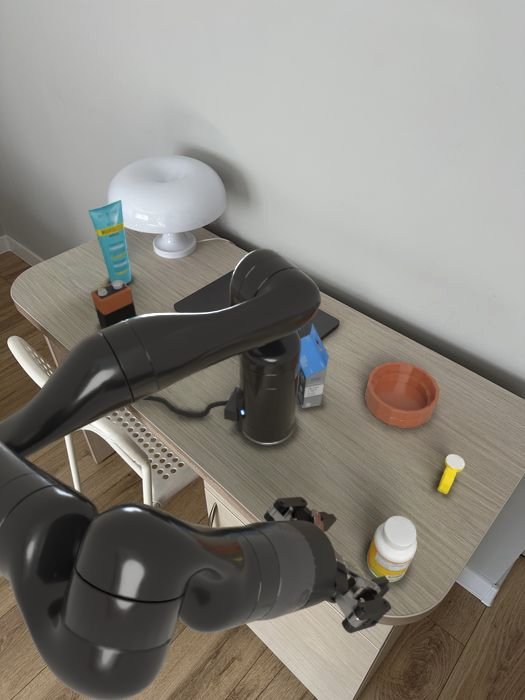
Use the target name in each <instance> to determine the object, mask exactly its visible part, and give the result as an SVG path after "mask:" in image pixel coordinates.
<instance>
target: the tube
mask: <svg viewBox="0 0 525 700" xmlns="http://www.w3.org/2000/svg"><path fill="white" fill-rule="evenodd" d="M87 213H88V215H89V217H90V219H91V223H92V225H93V228H94V231H95V233H96V236H97V240H98V243H99V247H100V250H101V252H102V257H103V260H104V263H105V267H106V270H107V274H108V277H109V280H110V284H111V283H113V282H114V281H118V280H121V281H122V282H123V283H125V284H126V285H127V284H129V283H130V282H131V281H132V272H131V271H132V270H131V266H130V260H129V252H128V245H127V238H126V230H125V221H124V214H123V213H124V212H123V203H122V199H118V200H115V201H112V202H110V203H107V204H105V205H102V206H98V207H94V208H91V209H88V210H87Z"/></svg>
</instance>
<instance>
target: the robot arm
mask: <svg viewBox="0 0 525 700" xmlns="http://www.w3.org/2000/svg"><path fill="white" fill-rule="evenodd" d="M231 275H232V276H231V279H230V282H229V307H226V308H223V309H220V310H215V311H208V312H156V313H145V314H139V315H136V316H135V317H132V318H129V319H127V320H124V321H121V322H119V323H117V324H114V325H112V326H109V327H107V328H104V329H103V328H102V329H99V330H97V331H95V332H93V333H90V334H88V335H86V336H85V337H83V338H82V339H80V340H79V341H78V342H77V343H76V344H75V345H74V346H73V347H72V348H71V349H70V351H69V352H67V354H66V355H65V356H64V358H63V359H62V360H61V361H60V363H59V364H58V365H57V366H56V368H55V369H54V371H53V372H52V374H51V375H50V376H49V378H48V379H47V380H46V382H45V383H44V384H43V386H42V387H40V389H39V390H38V391H37V393H35V395H34V396H33V397H32V398H31V399H29V401H28V402H27V403H26V404H25V405H24V406H22V407H20V409H18V410H16V411H15V412H13V413H12V414H10V415H8V416H7V417H5V418H4V419H2V420H0V575H1V576H2V577H3V578H4V579H6V580H7V581H8V583H9V584H10V587H11V590H12V595H13V597H14V600H15V603H16V605H17V608H18V609H19V612H20V613H21V617H22V619H23V621H24V624H25V626H26V628H27V630H28V633H29V636H30V638H31V641H32V642H33V645H34V647H35V649H36V651H37V653H38V654H39V656H40V658H41V659H42V661H43V663H44V664H45V665H46V667H47V668H48V670H49V671H50V673H51V674H53V676H54V677H55V678H56V679H57V680H58V681H60V682H61V683H62V684H63V685H64V686H65V687H67V688H68V689H69V690H71V691H72V692H74V693H76V694H78V695H80V696H83V697H85V698H87V699H91V700H127V699H131V698H133V697H137V696H138V695H139V694H141V693H143V692H144V691H145V690H147V689H148V688H149V687H150V686H151V685H152V684H153V683H154V682H155V680H157V678H158V677H159V674H160V673H161V671H162V670H163V667H164V665H165V662H166V660H167V657H168V654H169V651H170V648H171V645H172V642H173V639H174V634H175V631H176V628H177V624H178V621H179V620H180V621H181V622H182V624H183V625H185V626H186V627H187V628H189V629H190V630H192V631H194V632H197V633H200V634H215V633H220V632H225V631H228V630H231V629H234V628H238V627H241V626H244V625H247V624H250V623H254V622H258V621H260V622H261V621H270V620H274V619H275V620H276V619H278V618H280V617H283V616H286V615H290V614H293V613H295V612H299V611H302V610H305V609H308V608H311V607H314V606H317V605H319V604H322V603H323V602H328V603H330V604H336V605H337V606H338V607H339V609H340V610H341V612H342V613H343V615H344V619H343V620H342V621H341V625H342V627H343V629H344V630H345V632H346V633H349V634H353V633H356V632H360V631H363V630H366V629H369V628H372V627H375V626H376V625H377V624H378V623H379V621H380V620H381V619H382V618H383V617H384V616H385V615H386V614H387V613H389V612H390V610H392V606H391V604H390V602H389V601H388V599H386V598H384V596H385V595H386V594H387V593H388V592H389V591H390V586H389V585H388V584H389V583H390V582H389V580H388V579H387V578H386V577H385V576H381V577H378V578H377V577H375V578H372V579H369V578H368V577H366V576H365V575H364V572H363V570H362V569H361V568H360V567H358V566H356V565H355V564H353V563H351V562H349V561H347V560H346V559H344V556H343V555H341V554H340V553H339V552H337V551H336V550H335V548H334V546H333V544H332V542H331V540H330V539H329V537H328V534H326V532H327V531H329V530H330V528H332V526H333V525H335V523H336V522H337V520H338V518H337V517H336V515H335V514H334V513H328V512H326V511H318V510H316V509H315V508H312V509H310V508H309V507H308V506H307V505H308V501H307V500H306V499H305V498H304V497H303V496H291V497H290V496H289V497H278V498H277V499H276V500H275V501H274V502H273V503H272V505H271V506H270V507H269V508H268V509H267V511H266V512H265V513H264V514H263V519H264V520H265V521H257V522H251V523H248V524H247V523H246V524H244V525H236V526H235V525H234V526H217V527H216V526H208V525H204V524H199V523H196V522H192V521H188V520H186V519H183V518H181V517H180V516H177V515H175V514H172V513H170V512H168V511H166V510H163V509H161V508H159V507H157V506H154V505H149V504H147V503H144V502H133V501H131V502H130V501H128V502H122V503H118V504H115V505H112V506H110V507H108V508H106V509H104V510H102V511H101V512H100V509H99V508H98V506H97V505H96V503H94V501H93V500H91V498H90V497H88V496H87V495H85V494H84V493H82V492H80V491H79V490H77V489H76V488H74V487H73V486H71V485H69V484H68V483H66V482H65V481H63V480H61V479H60V478H58V477H56V476H55V475H53V474H51V473H49V472H48V471H47V470H45V469H43V468H41V467H40V466H38V465H37V464H34V462H32V461H30V460H29V459H27V458H29V457H31V456H32V455H34V454H36V453H38V452H39V451H41V450H43V449H44V448H47V447H48V446H50V445H51V444H53V443H56V442H57V441H59V440H61V439H63V438H65V437H67V436H69V435H71V434H73V433H74V432H77V431H78V430H80V429H83V428H84V427H86V426H89V425H91V424H93V423H94V422H96V421H99V420H100V419H103V418H105V417H107V416H109V415H112V414H113V413H116V412H118V411H120V410H123V409H125V408H127V407H130V406H131V405H133V404H136V403H138V402H140V401H151V402H157V403H160V404H163V405H165V406H166V408H167V409H168V410H170V411H171V412H172V413H174V414H176V415H180V416H183V417H187V418H193V419H194V418H195V419H197V418H204V417H206V416H207V415H208V414H209V413H210V412H211V410H212V409H215V408H217V407H218V408H219V407H224V408H223V416H224V420H227V421H230V422H234V423H236V432H240V433H242V435H243V436H244V437H245V438H246V439H247V440H248V441H250V442H251V443H252V444H254V445H258V446H262V447H274V446H278V445H281V444H283V443H285V442H287V441H288V440H289V439H290V438H291V436H292V435H293V434H294V430H295V428H296V427H295V426H296V409H297V399H298V396H297V387H298V376H299V365H300V355H301V340H300V339H301V337H300V334H299V332H298V331H300V330H301V329H302V328H304V327H305V326H306V325H307V324H309V322H310V321H312V319H313V318H314V317H315V316H316V314H317V313H318V311H319V309H320V306H321V304H322V303H321V302H322V294H321V290H320V289H319V286H318V285H317V284H316V282H315V281H314V280H313V279H312V278H311V277H310V276H309V275H308V274H306V272H304V271H303V270H301V268H299V267H298V266H296V265H295V264H294V263H293V262H292V261H290V260H289V259H288V258H286V257H285V256H284V255H283V254H281V253H280V252H279V251H276V250H274V249H271V248H258V249H255V250H252V251H251V252H249V253H247V254H245V255H244V256H243V258H242V259H241V260H240V261H239V262H238V264H237V265H236V267H235V269H234V271H233V273H232V274H231ZM236 356H238V363H239V365H238V366H239V386H235V387H234V388H233V390H232V393H231V394H230V396H229V398H228V399H227V400H219V401H218V400H217V401H214V402H211V403H209V404H208V405H207V406H206V408H205V409H204V410H203V411H199V412H190V411H187V410H186V411H185V410H182V409H179V408H177V407H175V406H174V405H172V403H170V402H169V401H167V400H166V399H165V398H162V397H160V396H154V395H155V394H156V393H159V392H161V391H163V390H164V389H166V388H168V387H170V386H172V385H174V384H175V383H178V382H179V381H182V380H184V379H186V378H188V377H190V376H192V375H194V374H196V373H197V374H198V373H199V372H201V371H203V370H205V369H207V368H210V367H212V366H214V365H217V364H220V363H221V362H224V361H226V360H229V359H231V358H233V357H236ZM348 576H349V578H348ZM360 589H362V590H360ZM359 590H360V592H358V591H359Z"/></svg>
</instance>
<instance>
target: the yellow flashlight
mask: <svg viewBox="0 0 525 700" xmlns="http://www.w3.org/2000/svg"><path fill="white" fill-rule="evenodd" d="M444 464H445V468H444V471H443V473H442V476H441V478H440V481H439V484H438V487H437V491H438V492H440V493H442V494H445V495H447V494H448V493H449V491H450V490H451V487H452V485H453V483H454V481H455V477H456V475H457V473H459V472H462V471H463V470H464V468H465V466H466V463H465V460H464V459H463V457H461V456H460V455H458V454H456V453H455V454H454V453H451V454H448V455H447V456H446V458H445V459H444Z"/></svg>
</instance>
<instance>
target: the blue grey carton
mask: <svg viewBox="0 0 525 700" xmlns="http://www.w3.org/2000/svg"><path fill="white" fill-rule="evenodd" d="M300 340H301V355H300V365H299V376H298V387H297V399H298V401H299V404H300V407H301V408H302V409H310V408H314V407H318V406H321V405H322V400H323V394H324V387H325V380H326V374H327V373H326V372H327V367H328V363H329V357H330V356H329V354H328V351H327V350H326V348H325V345H324V344H323V343H324V342H323V341H322V338H321V337H320V334H319V333H318V331H317V329H316V327H315V326H314V323H312V324H311V327H310V333H309V334H307V335H306V336H303V337H302V338H301V337H300Z"/></svg>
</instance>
